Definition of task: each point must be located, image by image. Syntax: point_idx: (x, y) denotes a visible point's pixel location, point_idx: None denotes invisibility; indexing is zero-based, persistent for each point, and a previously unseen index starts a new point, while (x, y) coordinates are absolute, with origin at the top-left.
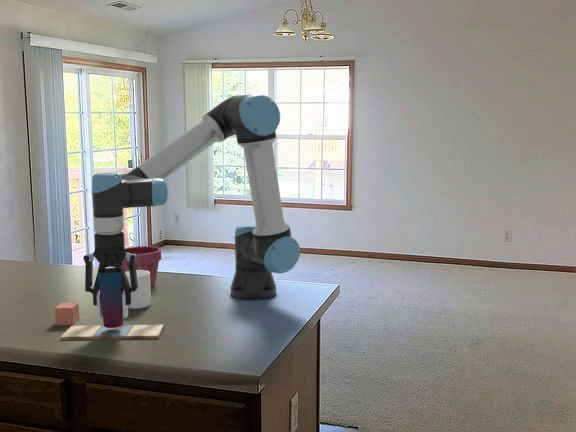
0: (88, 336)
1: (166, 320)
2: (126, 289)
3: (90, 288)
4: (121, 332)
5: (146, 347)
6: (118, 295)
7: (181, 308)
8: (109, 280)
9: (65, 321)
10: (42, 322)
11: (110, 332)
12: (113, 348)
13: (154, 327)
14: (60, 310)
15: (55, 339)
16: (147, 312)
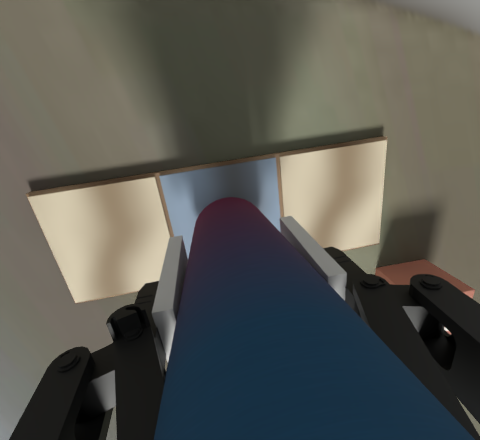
0: (294, 154)
1: None
2: (132, 349)
3: (416, 303)
4: (191, 208)
5: (22, 87)
6: (188, 286)
7: (114, 436)
8: (266, 352)
9: (405, 269)
10: (462, 271)
11: None
12: (159, 63)
13: (93, 273)
14: None
15: (398, 140)
16: None
